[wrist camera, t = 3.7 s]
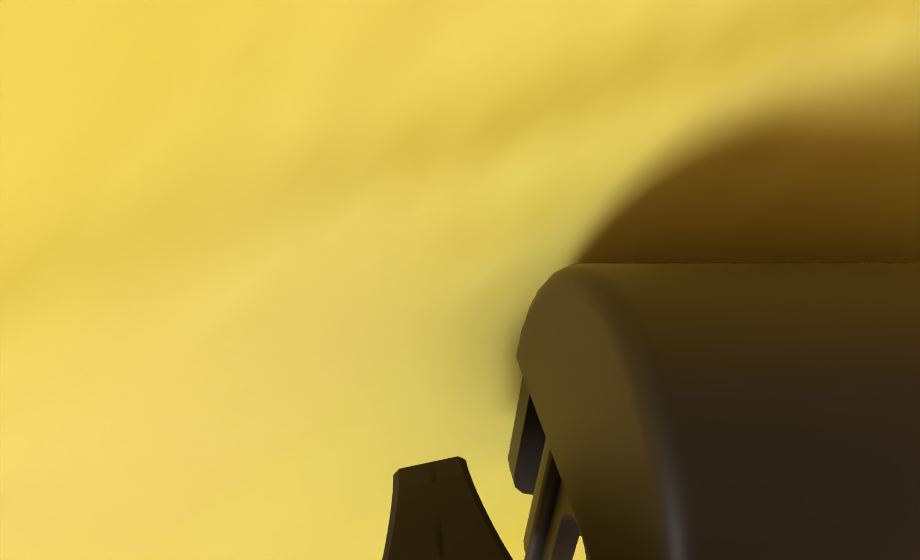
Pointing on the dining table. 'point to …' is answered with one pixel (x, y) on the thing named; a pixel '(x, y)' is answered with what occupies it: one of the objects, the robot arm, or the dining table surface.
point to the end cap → (721, 412)
